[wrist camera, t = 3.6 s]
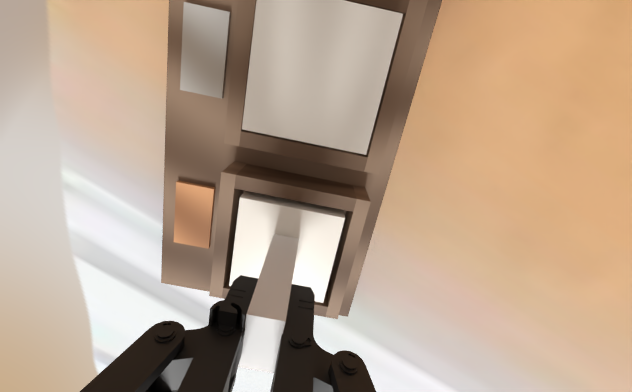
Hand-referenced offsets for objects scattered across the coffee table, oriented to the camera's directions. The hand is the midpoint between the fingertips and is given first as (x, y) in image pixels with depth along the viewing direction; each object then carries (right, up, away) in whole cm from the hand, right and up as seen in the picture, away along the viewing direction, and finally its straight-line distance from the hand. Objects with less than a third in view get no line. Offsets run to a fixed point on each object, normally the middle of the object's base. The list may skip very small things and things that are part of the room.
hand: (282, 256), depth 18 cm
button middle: (+2, +10, -2) cm, 10 cm away
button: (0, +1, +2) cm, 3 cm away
